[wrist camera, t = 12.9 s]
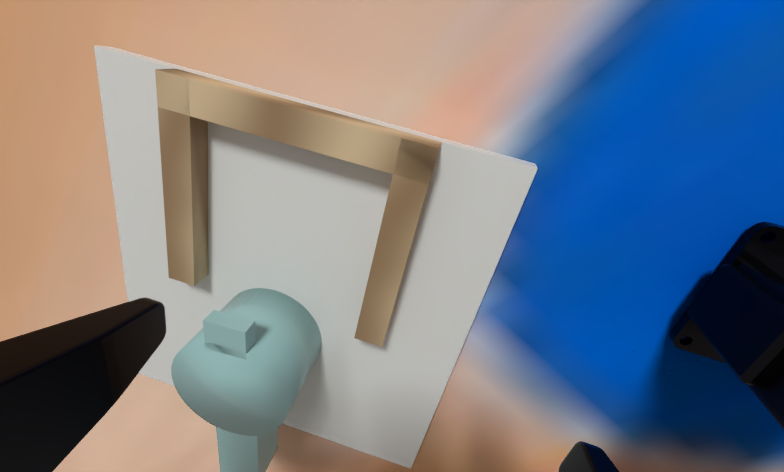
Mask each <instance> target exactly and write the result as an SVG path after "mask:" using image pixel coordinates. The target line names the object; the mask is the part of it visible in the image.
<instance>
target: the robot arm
mask: <svg viewBox="0 0 784 472" xmlns="http://www.w3.org/2000/svg"><path fill="white" fill-rule="evenodd" d="M767 232H769V234H768V236H767V237H765V238H763V239H760V237H761V236H762V235H763V234H764V233H767ZM165 335H166V317H165V307H164V305H163V303H161V302H159V301H156V300H153V299H150V298H139V299H136V300H133V301H129V302H126V303H123V304H120V305H117V306H113V307H110V308H107V309H104V310H101V311H97V312H94V313H91V314H88V315H85V316H81V317H78V318H75V319H72V320H69V321H65V322H62V323H59V324H56V325H52V326H49V327H46V328H43V329H40V330H36V331H33V332H30V333H27V334H24V335H20V336H17V337H14V338H11V339H8V340H4V341H1V342H0V472H52V471H53V470H54V469H55V468H56V467H57V466H58V465H59V464H60V463H61V462H62V461H63V459H64V458H65V457H66V456H67V455H68V454H69V453H70V452H71V451H72V450H73V449H74V447H75V446H76V445H77V444H78V443H79V442H80V441H81V440H82V439H83V438H84V437H85V436H86V434H87V433H88V432H89V431H90V430H91V429H92V428H93V427H94V426H95V425H96V424H97V422H98V421H99V420H100V419H101V418H102V417H103V416H104V415H105V414H106V413H107V411H108V410H109V409H110V408H111V407H112V406H113V405H114V404H115V402H116V401H117V400H118V399H119V397H120V396H121V395H122V394H123V392H124V391H125V390H126V388H127V387H128V386H129V385H130V383H131V382H132V381H133V379H134V378H135V377H136V375H137V374H138V373H139V371H140V370H141V369H142V368H143V366H144V365H145V364H146V362H147V361H148V360H149V358H150V357H151V356H152V354H153V353H154V352H155V351H156V349H157V348H158V347H159V345H160V344H161V343H162V341H163V339H164V338H165ZM686 336H687V338H686V339H682V340H681V338H683V337H686ZM670 339H671V340H672V342H673V343H674V345H675V346H676V347H677V348H679V349H682V350H686V351H689V352H692V353H695V354H699V355H702V356H705V357H708V358H712V359H715V360H718V361H722V362H725V363H727V364H728V366H729V367H730V368H731V369H732V371H733V372H734V373H735V374H736V375H737V377H738V378H739V379H740V380H741V381H742V382H743V383H746V384H747V385H748V386H749V388H750V389H751V390H752V391H753V392H754V394H755V395H756V396H757V397H758V399H759V400H760V401H761V402H762V403H763V405H764V406H765V407H766V408H767V410H768V411H769V412H770V413H771V414H772V416H773V417H774V418H775V419H776V421H777V422H778V423H779V424H780V425H781V427H782V428H783V429H784V226H780V225H776V224H773V223H768V222H762V223H758V224H756V225H754V226H752V227H751V228H750V229H749V230H748V231H747V232H746V234H745V235H744V236H743V238H742V239H741V240H740V242H739V243H738V244H737V245H736V247H735V248H734V249H733V251H732V252H731V253H730V255H729V256H728V257H727V259H726V260H725V261H724V263H723V264H722V265H721V267H719V269H718V270H717V271H716V273H715V274H714V275H713V277H712V278H711V279H710V280H709V282H708V283H707V284H706V286H705V287H704V288H703V290H702V291H701V292H700V294H699V295H698V296H697V298H696V299H695V300H694V302H693V303H692V304H691V306H690V307H689V308H688V310H687V312H686V313H685V314H684V316H683V317H682V318H681V320H680V321H679V322H678V324H677V325H676V326H675V327H674V329H673V330H672V331H671V333H670ZM559 472H619V471H618V469H617V468H616V467H615V465H614V464H613V463H612V461H611V460H610V459H609V457H608V456H607V455H606V453H605V452H604V451H603V450H602V449H601V448H599V447H597V446H594V445H591V444H588V443H585V442H578V443H576V444H575V445H574V447H573V448H572V449H571V451H570V452H569V454H568V455H567V456H566V458H565V459H564V460H563V462H562V463H561V465H560V468H559Z"/></svg>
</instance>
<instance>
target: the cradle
mask: <svg viewBox="0 0 784 472" xmlns="http://www.w3.org/2000/svg"><path fill="white" fill-rule="evenodd" d="M155 75H156V91H157V106H158V121H159V136H160V152H161V167H162V182H163V197H164V213H165V228H166V243H167V258H168V274H169V278H171V279H174V280H177V281H181V282H184V283H187V284H190V285H193V286H195V285H196V284H197V283H199V282H200V281H201V280H202V279H204V278H205V277H206V276H207V275H208V274H209V273H208V121H209V122H212V123H216V124H219V125H223V126H226V127H230V128H233V129H237V130H240V131H244V132H247V133H251V134H254V135H258V136H261V137H264V138H268V139H271V140H275V141H278V142H282V143H285V144H289V145H292V146H296V147H299V148H303V149H306V150H310V151H313V152H317V153H320V154H324V155H327V156H331V157H334V158H338V159H341V160H345V161H348V162H352V163H355V164H359V165H362V166H366V167H369V168H373V169H376V170H380V171H383V172H387V173H390V174H393V176H392V180H391V185H390V189H389V193H388V197H387V201H386V206H385V210H384V214H383V218H382V223H381V227H380V231H379V235H378V240H377V244H376V248H375V252H374V256H373V261H372V265H371V269H370V273H369V278H368V282H367V286H366V290H365V295H364V299H363V303H362V307H361V311H360V316H359V320H358V324H357V328H356V333H355V337H354V338H356V339H359V340H362V341H365V342H368V343H371V344H374V345H377V346H380V347H382V346H383V343H384V339H385V336H386V333H387V330H388V327H389V323H390V320H391V316H392V313H393V309H394V306H395V302H396V299H397V295H398V292H399V288H400V285H401V282H402V278H403V275H404V271H405V268H406V264H407V261H408V257H409V254H410V250H411V247H412V243H413V240H414V236H415V233H416V229H417V226H418V222H419V219H420V216H421V212H422V209H423V205H424V202H425V198H426V195H427V191H428V188H429V184H430V181H431V177H432V174H433V170H434V167H435V163H436V160H437V157H438V153H439V150H440V146H441V143H442V142H440V141H436V140H433V139H429V138H425V137H422V136H418V135H414V134H411V133H407V132H404V131H400V130H396V129H393V128H389V127H386V126H382V125H378V124H375V123H371V122H367V121H364V120H360V119H357V118H353V117H349V116H346V115H342V114H339V113H335V112H331V111H328V110H324V109H320V108H317V107H313V106H310V105H306V104H302V103H299V102H295V101H292V100H288V99H284V98H281V97H277V96H274V95H270V94H266V93H263V92H259V91H255V90H252V89H248V88H245V87H241V86H237V85H234V84H230V83H227V82H223V81H219V80H216V79H212V78H208V77H205V76H201V75H198V74H194V73H190V72H187V71H183V70H180V69H155Z"/></svg>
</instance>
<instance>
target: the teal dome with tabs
mask: <svg viewBox="0 0 784 472" xmlns="http://www.w3.org/2000/svg"><path fill="white" fill-rule="evenodd" d="M321 345H322V339H321V333H320V330H319V327H318V325H317V323H316V321H315V320H314V318H313V317H312V315H311V314H310V313H309V312H308V310H307V309H306V308H305V307H304V306H302V305H301V304H300V303H299V302H297V301H296V300H295V299H293V298H291V297H290V296H288V295H286V294H283V293H281V292H278V291H275V290H271V289H265V288H253V289H248V290H245V291H242V292H240V293H238V294H237V295H236V296H234V297H233V298H232V299H231V300H230V301H229V302H228V303H227V304H226V305H225V306H224V307H223V308H222V309H221V310H220V311H217V310H213V311H212V312H211V313H210V314H209V315H208V316H207V317H206V318H205V319H204V320H203V328H202V329H201V330H200V331H199V332H198V333H197V334H196V335H195V336H194V337H193V338H192V339H191V340H190V341H189V342H188V343H187V344H186V345H185V346H184V347H183V348H182V349H181V350H180V351H179V352H178V353H177V354H176V356H175V357H174V359H173V362H172V366H171V375H172V380H173V383H174V385H175V388H176V390H177V392H178V393H179V395H180V396H181V398H182V399H183V401H184V402H185V403H186V404H187V405H188V406H189V407H190V408H191V409H192V410H193V411H194V412H195V413H196V414H197V415H199V416H200V417H201V418H203V419H204V420H206V421H207V422H209V423H210V424H212V425H214V426H216V430H217V440H218V451H219V462H220V472H265V471H266V469H267V467H268V466H269V464H270V462H271V460H272V458H273V456H274V454H275V452H276V450H277V448H278V428H279V427H280V426H281V424H282V423H283V421H284V420H285V418H286V416H287V414H288V412H289V410H290V408H291V406H292V404H293V403H294V401H295V399H296V397H297V395H298V393H299V391H300V389H301V387H302V386H303V384H304V382H305V380H306V378H307V376H308V374H309V372H310V370H311V369H312V367H313V365H314V363H315V361H316V359H317V357H318V355H319V353H320V350H321Z"/></svg>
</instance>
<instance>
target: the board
mask: <svg viewBox="0 0 784 472" xmlns="http://www.w3.org/2000/svg"><path fill="white" fill-rule="evenodd" d="M94 49H95V57H96V64H97V72H98V80H99V87H100V95H101V102H102V110H103V117H104V125H105V133H106V140H107V148H108V155H109V163H110V170H111V178H112V185H113V193H114V201H115V208H116V216H117V223H118V231H119V238H120V246H121V254H122V261H123V269H124V276H125V284H126V291H127V299H128V302H129V301H133V300H136V299H139V298H150V299H153V300H156V301H159V302H161V303H163V305H164V307H165V317H166V335H165V338H164V339H163V341H162V343H161V344H160V345H159V347H158V348H157V349H156V351H155V352H154V353H153V354H152V356H151V357H150V358H149V360H148V361H147V362H146V364H145V365H144V366H143V368H142V369H141V370H140V371H139V374H142V375H144V376H147V377H150V378H153V379H156V380H159V381H162V382H164V383H167V384H170V385H173V386H175V385H174V383H173V380H172V375H171V366H172V362H173V359H174V357H175V356H176V354H177V353H178V352H179V351H180V350H181V349H182V348H183V347H184V346H185V345H186V344H187V343H188V342H189V341H190V340H191V339H192V338H193V337H194V336H195V335H196V334H197V333H198V332H199V331H200V330H201V329H202V328H203V320H204V319H205V318H206V317H207V316H208V315H209V314H210V313H211V312H212V311H213V310H217V311H220V310H221V309H222V308H223V307H224V306H225V305H226V304H227V303H228V302H229V301H230V300H231V299H232V298H233V297H234V296H236V295H237V294H238V293H240V292H242V291H245V290H248V289H253V288H265V289H271V290H275V291H278V292H281V293H283V294H286V295H288V296H290V297H291V298H293V299H295V300H296V301H297V302H299V303H300V304H301V305H302V306H304V307H305V308H306V309H307V310H308V312H309V313H310V314H311V315H312V317H313V318H314V320H315V321H316V323H317V325H318V327H319V330H320V333H321V339H322V345H321V350H320V353H319V355H318V357H317V359H316V361H315V363H314V365H313V367H312V369H311V370H310V372H309V374H308V376H307V378H306V380H305V382H304V384H303V386H302V387H301V389H300V391H299V393H298V395H297V397H296V399H295V401H294V403H293V404H292V406H291V408H290V410H289V412H288V414H287V416H286V418H285V420H284V421H283V423H282V424H284V425H287V426H290V427H293V428H296V429H299V430H301V431H304V432H307V433H310V434H313V435H316V436H319V437H321V438H324V439H327V440H330V441H333V442H336V443H339V444H341V445H344V446H347V447H350V448H353V449H356V450H358V451H361V452H364V453H367V454H370V455H373V456H376V457H378V458H381V459H384V460H387V461H390V462H393V463H396V464H398V465H401V466H404V467H407V468H410V469H411V467H412V465H413V462H414V460H415V458H416V455H417V453H418V451H419V448H420V446H421V444H422V441H423V439H424V436H425V434H426V432H427V429H428V427H429V425H430V422H431V420H432V418H433V415H434V413H435V410H436V408H437V406H438V403H439V401H440V399H441V396H442V394H443V391H444V389H445V387H446V384H447V382H448V380H449V377H450V375H451V373H452V370H453V368H454V365H455V363H456V361H457V358H458V356H459V354H460V351H461V349H462V347H463V344H464V342H465V339H466V337H467V335H468V332H469V330H470V328H471V325H472V323H473V320H474V318H475V316H476V313H477V311H478V309H479V306H480V304H481V302H482V299H483V297H484V294H485V292H486V290H487V287H488V285H489V283H490V280H491V278H492V276H493V273H494V271H495V268H496V266H497V264H498V261H499V259H500V257H501V254H502V252H503V249H504V247H505V245H506V242H507V240H508V238H509V235H510V233H511V231H512V228H513V226H514V223H515V221H516V219H517V216H518V214H519V212H520V209H521V207H522V205H523V202H524V200H525V197H526V195H527V193H528V190H529V188H530V186H531V183H532V181H533V178H534V176H535V174H536V171H537V169H538V168H537V166H536V165H535V163H531V162H528V161H524V160H520V159H517V158H513V157H509V156H506V155H502V154H499V153H495V152H491V151H488V150H484V149H480V148H477V147H473V146H470V145H466V144H462V143H459V142H455V141H451V140H448V139H444V138H441V137H437V136H433V135H430V134H426V133H422V132H419V131H415V130H411V129H408V128H404V127H401V126H397V125H393V124H390V123H386V122H382V121H379V120H375V119H372V118H368V117H364V116H361V115H357V114H353V113H350V112H346V111H343V110H339V109H335V108H332V107H328V106H324V105H321V104H317V103H314V102H310V101H306V100H303V99H299V98H295V97H292V96H288V95H285V94H281V93H277V92H274V91H270V90H266V89H263V88H259V87H256V86H252V85H248V84H245V83H241V82H237V81H234V80H230V79H227V78H223V77H219V76H216V75H212V74H208V73H205V72H201V71H198V70H194V69H190V68H187V67H183V66H179V65H176V64H172V63H169V62H165V61H161V60H158V59H154V58H150V57H147V56H143V55H140V54H136V53H132V52H129V51H125V50H121V49H118V48H114V47H111V46H94ZM155 69H180V70H183V71H187V72H190V73H194V74H198V75H201V76H205V77H208V78H212V79H216V80H219V81H223V82H227V83H230V84H234V85H237V86H241V87H245V88H248V89H252V90H255V91H259V92H263V93H266V94H270V95H274V96H277V97H281V98H284V99H288V100H292V101H295V102H299V103H302V104H306V105H310V106H313V107H317V108H320V109H324V110H328V111H331V112H335V113H339V114H342V115H346V116H349V117H353V118H357V119H360V120H364V121H367V122H371V123H375V124H378V125H382V126H386V127H389V128H393V129H396V130H400V131H404V132H407V133H411V134H414V135H418V136H422V137H425V138H429V139H433V140H436V141H440V142H442V143H441V146H440V150H439V153H438V157H437V160H436V163H435V167H434V170H433V174H432V177H431V181H430V184H429V188H428V191H427V195H426V198H425V202H424V205H423V209H422V212H421V216H420V219H419V222H418V226H417V229H416V233H415V236H414V240H413V243H412V247H411V250H410V254H409V257H408V261H407V264H406V268H405V271H404V275H403V278H402V282H401V285H400V288H399V292H398V295H397V299H396V302H395V306H394V309H393V313H392V316H391V320H390V323H389V327H388V330H387V333H386V336H385V339H384V343H383V346H382V347H380V346H377V345H374V344H371V343H368V342H365V341H362V340H359V339H356V338H354V337H355V333H356V328H357V324H358V320H359V316H360V311H361V307H362V303H363V299H364V295H365V290H366V286H367V282H368V278H369V273H370V269H371V265H372V261H373V256H374V252H375V248H376V244H377V240H378V235H379V231H380V227H381V223H382V218H383V214H384V210H385V206H386V201H387V197H388V193H389V189H390V185H391V180H392V176H393V174H390V173H387V172H383V171H380V170H376V169H373V168H369V167H366V166H362V165H359V164H355V163H352V162H348V161H345V160H341V159H338V158H334V157H331V156H327V155H324V154H320V153H317V152H313V151H310V150H306V149H303V148H299V147H296V146H292V145H289V144H285V143H282V142H278V141H275V140H271V139H268V138H264V137H261V136H258V135H254V134H251V133H247V132H244V131H240V130H237V129H233V128H230V127H226V126H223V125H219V124H216V123H212V122H209V121H208V273H209V274H208V275H207V276H206V277H205V278H204V279H202V280H201V281H200V282H199V283H197V284H196V285H195V286H193V285H190V284H187V283H184V282H181V281H177V280H174V279H171V278H169V274H168V258H167V243H166V228H165V213H164V197H163V182H162V167H161V152H160V136H159V121H158V106H157V91H156V75H155Z"/></svg>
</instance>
